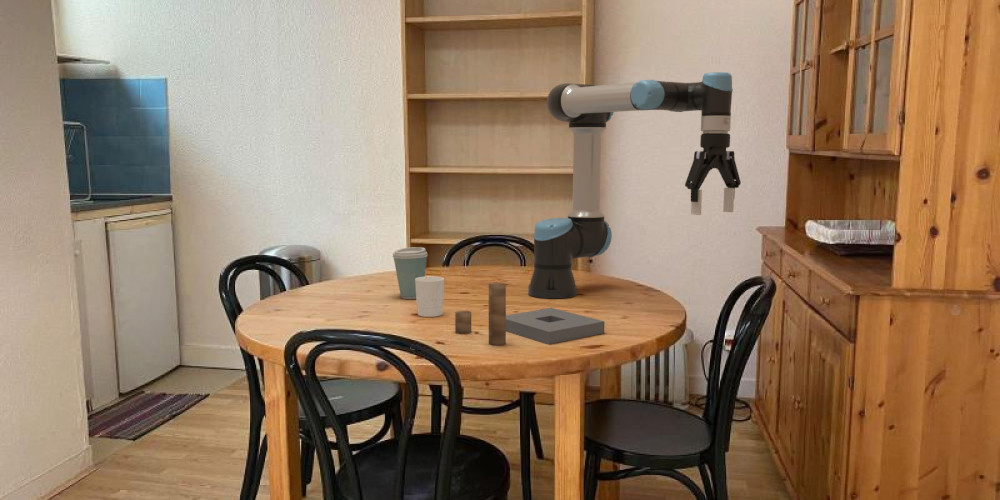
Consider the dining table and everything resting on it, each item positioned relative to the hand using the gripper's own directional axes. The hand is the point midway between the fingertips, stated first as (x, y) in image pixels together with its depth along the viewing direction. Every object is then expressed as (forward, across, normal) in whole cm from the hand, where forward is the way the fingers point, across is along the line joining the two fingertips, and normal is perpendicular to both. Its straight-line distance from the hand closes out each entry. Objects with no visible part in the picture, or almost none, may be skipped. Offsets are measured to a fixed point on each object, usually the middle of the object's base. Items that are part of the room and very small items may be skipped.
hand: (712, 213), depth 205 cm
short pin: (+28, -63, +25) cm, 74 cm away
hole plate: (+28, -45, +13) cm, 55 cm away
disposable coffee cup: (+28, -51, +71) cm, 92 cm away
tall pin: (+28, -63, +11) cm, 70 cm away
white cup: (+28, -59, +47) cm, 81 cm away
